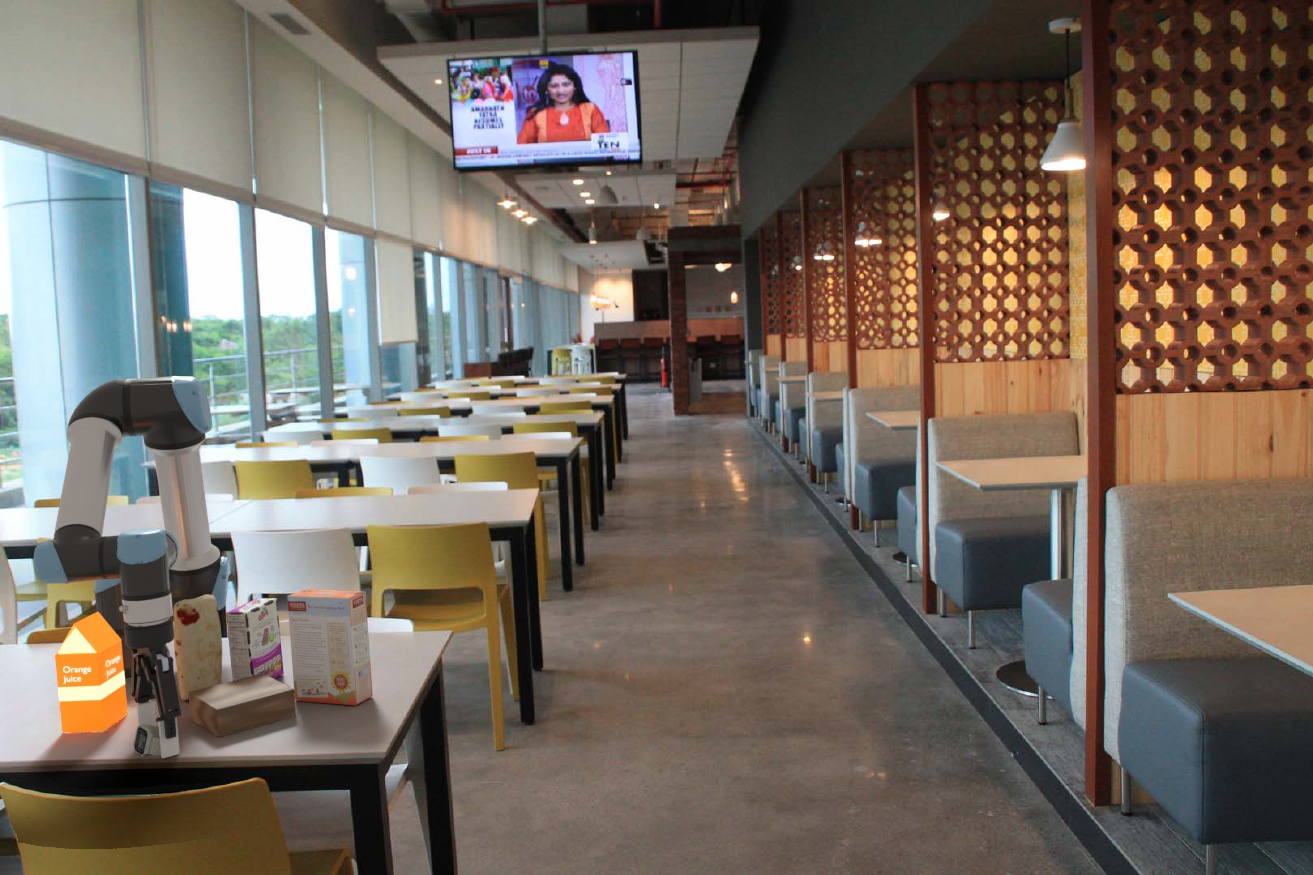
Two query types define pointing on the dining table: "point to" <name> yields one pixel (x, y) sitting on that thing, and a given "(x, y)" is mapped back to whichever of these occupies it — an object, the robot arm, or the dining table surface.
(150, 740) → the wristwatch
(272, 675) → the candy bar box
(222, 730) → the walnut base
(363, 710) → the dining table surface
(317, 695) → the cracker box
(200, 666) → the food model
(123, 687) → the orange juice
